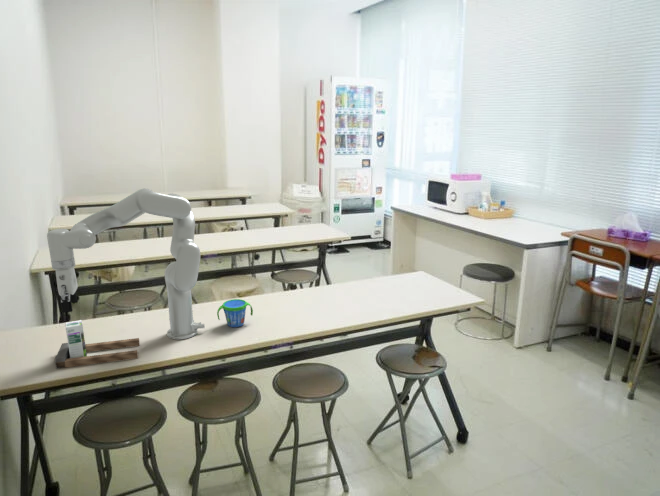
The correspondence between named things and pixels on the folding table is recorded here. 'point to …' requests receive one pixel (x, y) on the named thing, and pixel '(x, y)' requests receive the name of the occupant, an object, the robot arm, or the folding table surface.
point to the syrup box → (76, 339)
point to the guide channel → (65, 360)
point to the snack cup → (235, 312)
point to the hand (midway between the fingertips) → (70, 306)
